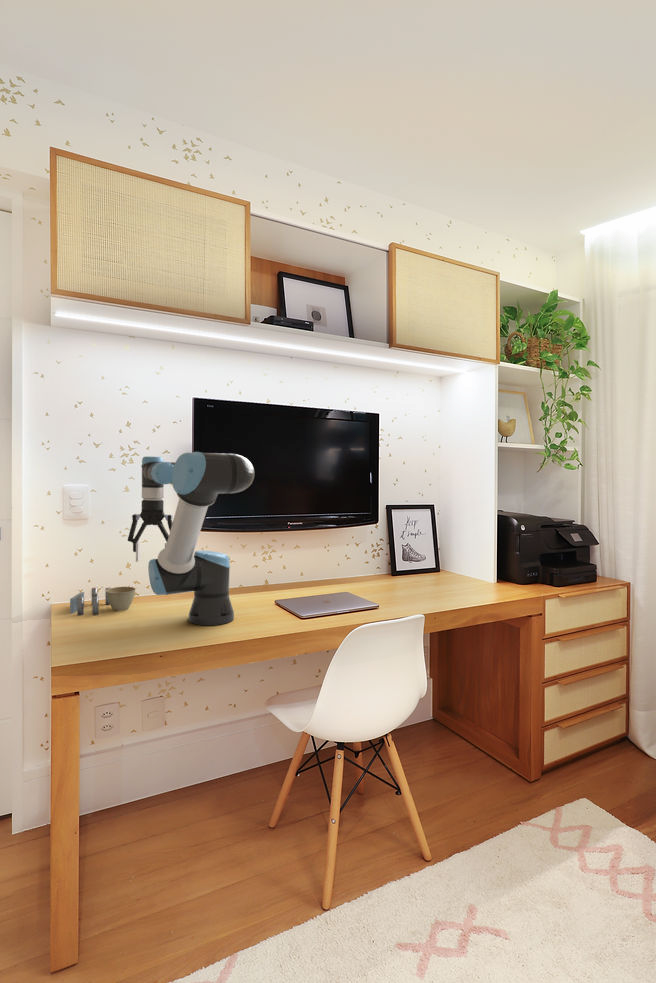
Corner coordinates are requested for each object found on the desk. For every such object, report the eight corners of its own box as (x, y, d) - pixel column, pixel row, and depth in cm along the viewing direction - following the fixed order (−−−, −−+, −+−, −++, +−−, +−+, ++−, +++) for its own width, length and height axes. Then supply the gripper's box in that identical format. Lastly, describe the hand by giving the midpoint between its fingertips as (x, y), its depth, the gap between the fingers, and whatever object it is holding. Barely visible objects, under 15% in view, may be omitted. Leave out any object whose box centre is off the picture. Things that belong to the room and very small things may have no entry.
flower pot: (116, 604, 196) (116, 585, 195) (140, 606, 194) (140, 587, 193) (99, 611, 186) (99, 591, 186) (125, 613, 184) (125, 593, 184)
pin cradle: (111, 603, 197) (112, 587, 197) (97, 615, 181) (97, 598, 181) (83, 603, 196) (83, 587, 196) (66, 615, 180) (66, 598, 180)
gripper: (185, 499, 194) (185, 559, 195) (124, 498, 192) (123, 559, 193) (182, 500, 187) (181, 562, 188) (117, 499, 184) (117, 562, 185)
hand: (152, 561), depth 190 cm, fingers open, 9 cm apart
